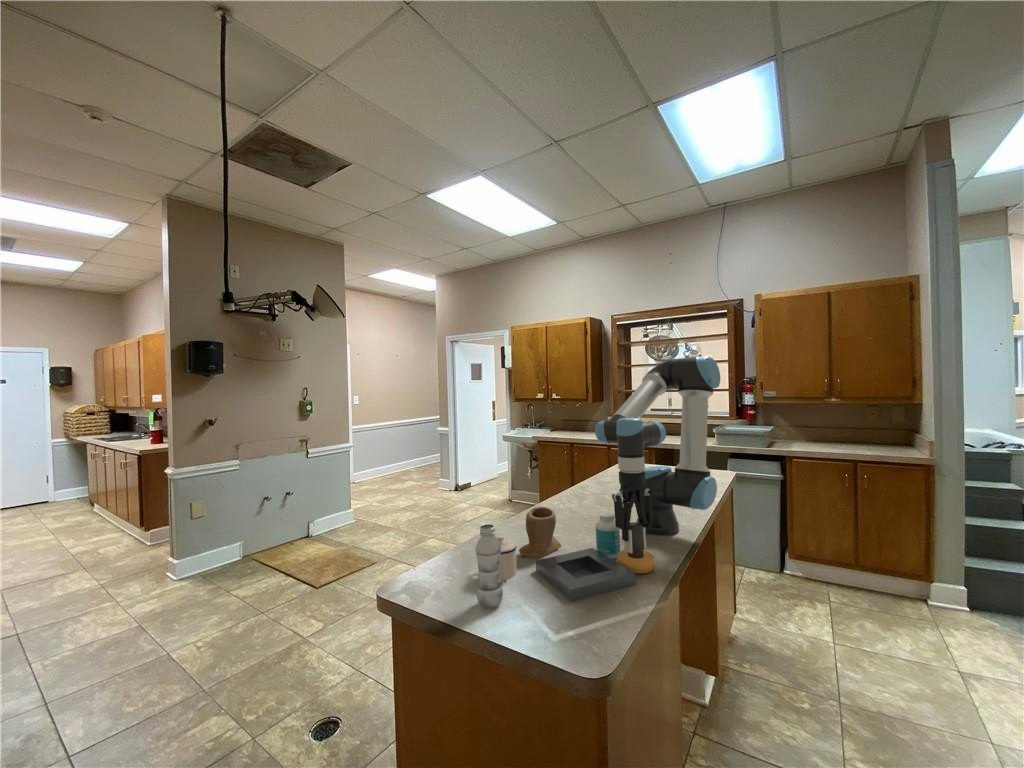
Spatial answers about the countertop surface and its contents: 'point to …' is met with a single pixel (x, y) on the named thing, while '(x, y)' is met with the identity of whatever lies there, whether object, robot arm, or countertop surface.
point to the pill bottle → (607, 536)
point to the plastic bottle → (488, 568)
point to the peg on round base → (637, 553)
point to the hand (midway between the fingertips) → (635, 549)
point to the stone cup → (540, 533)
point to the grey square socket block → (584, 574)
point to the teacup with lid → (507, 559)
